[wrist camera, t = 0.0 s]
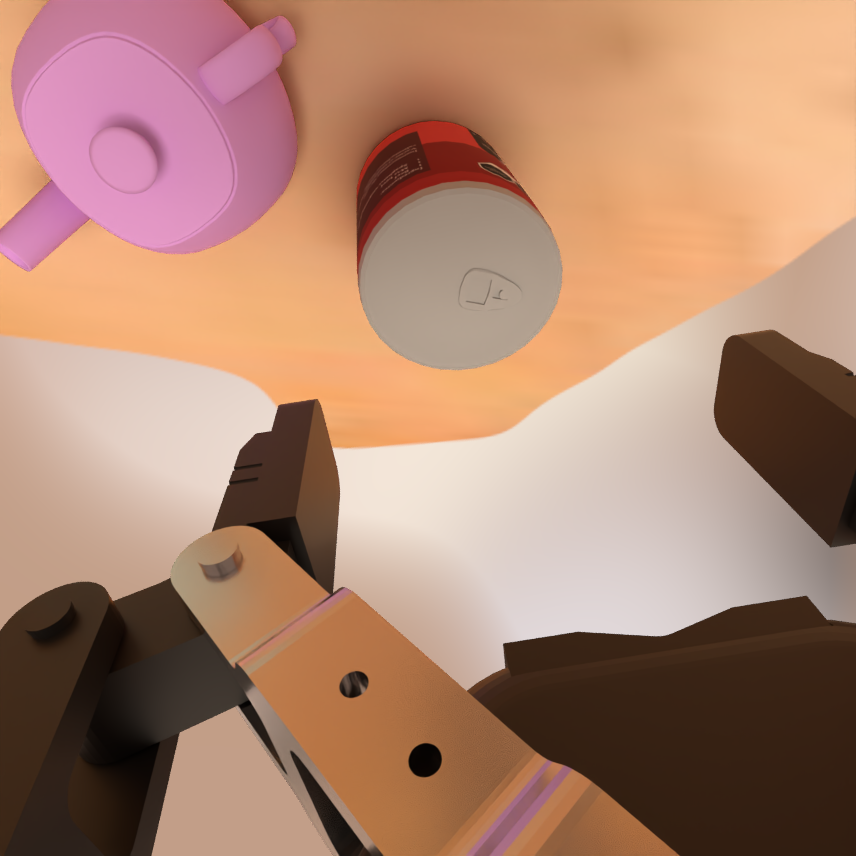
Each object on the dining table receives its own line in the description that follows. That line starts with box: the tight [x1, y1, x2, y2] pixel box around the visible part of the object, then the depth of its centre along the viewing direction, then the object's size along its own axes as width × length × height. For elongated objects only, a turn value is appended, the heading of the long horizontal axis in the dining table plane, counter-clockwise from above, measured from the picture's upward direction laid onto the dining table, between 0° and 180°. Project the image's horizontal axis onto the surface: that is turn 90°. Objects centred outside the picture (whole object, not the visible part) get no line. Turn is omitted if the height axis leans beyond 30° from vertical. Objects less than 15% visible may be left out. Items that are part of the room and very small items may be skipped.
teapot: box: [0, 0, 297, 272], centre depth 24 cm, size 10×15×9 cm
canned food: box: [357, 121, 562, 370], centre depth 26 cm, size 8×8×11 cm
